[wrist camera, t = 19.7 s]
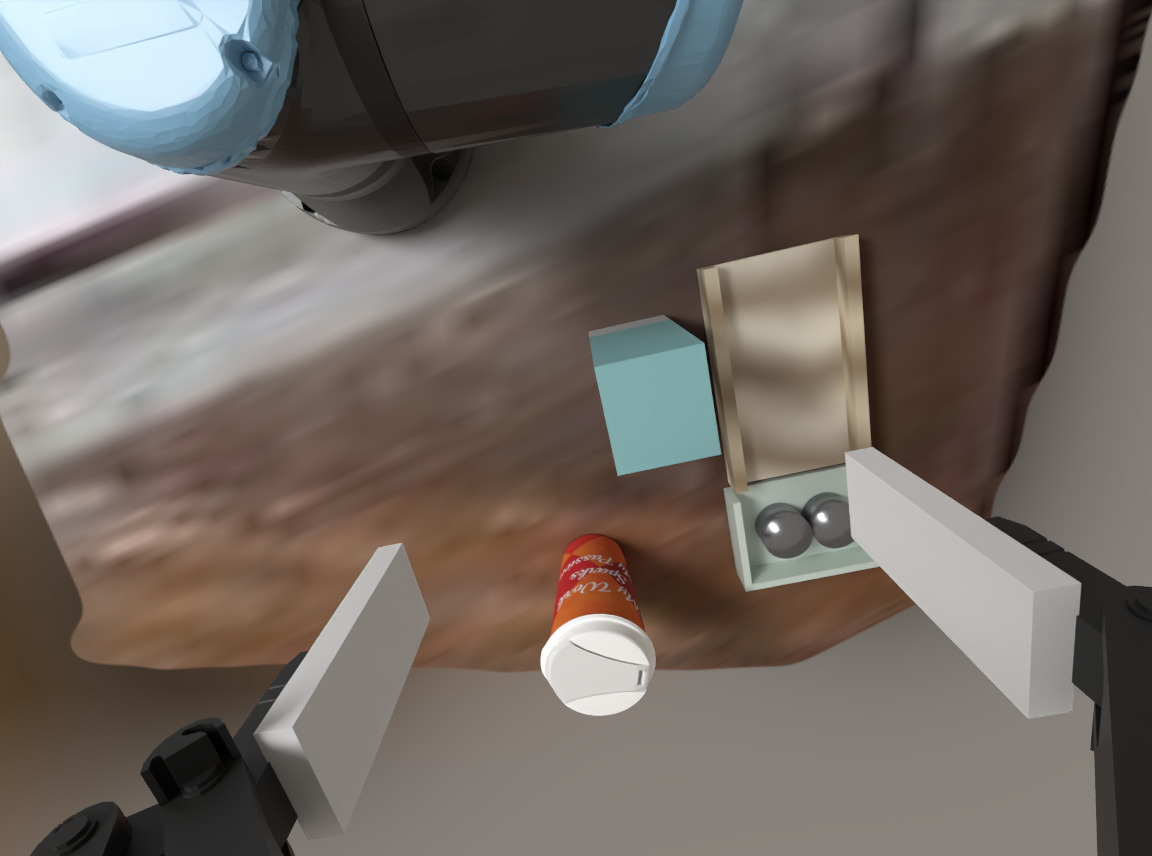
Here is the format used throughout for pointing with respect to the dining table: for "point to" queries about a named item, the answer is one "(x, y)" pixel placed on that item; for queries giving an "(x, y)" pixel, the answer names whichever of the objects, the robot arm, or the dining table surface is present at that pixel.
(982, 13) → the dining table surface
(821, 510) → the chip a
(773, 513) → the chip
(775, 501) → the tray
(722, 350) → the slot board
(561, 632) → the paper cup
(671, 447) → the teal tall block
